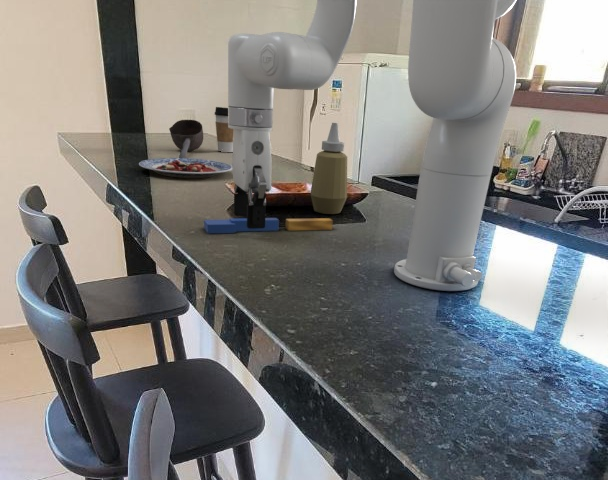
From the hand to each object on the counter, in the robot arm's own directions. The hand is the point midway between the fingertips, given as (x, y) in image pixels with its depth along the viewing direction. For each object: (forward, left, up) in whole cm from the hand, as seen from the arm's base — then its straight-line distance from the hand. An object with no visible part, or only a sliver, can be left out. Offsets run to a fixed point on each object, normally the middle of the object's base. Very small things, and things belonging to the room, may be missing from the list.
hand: (248, 221), depth 97 cm
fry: (0, -12, -2) cm, 12 cm away
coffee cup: (+112, -20, -2) cm, 114 cm away
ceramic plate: (+63, +2, -2) cm, 63 cm away
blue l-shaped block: (0, +1, -2) cm, 2 cm away
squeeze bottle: (+14, -21, -2) cm, 26 cm away
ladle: (+98, -3, -2) cm, 98 cm away
